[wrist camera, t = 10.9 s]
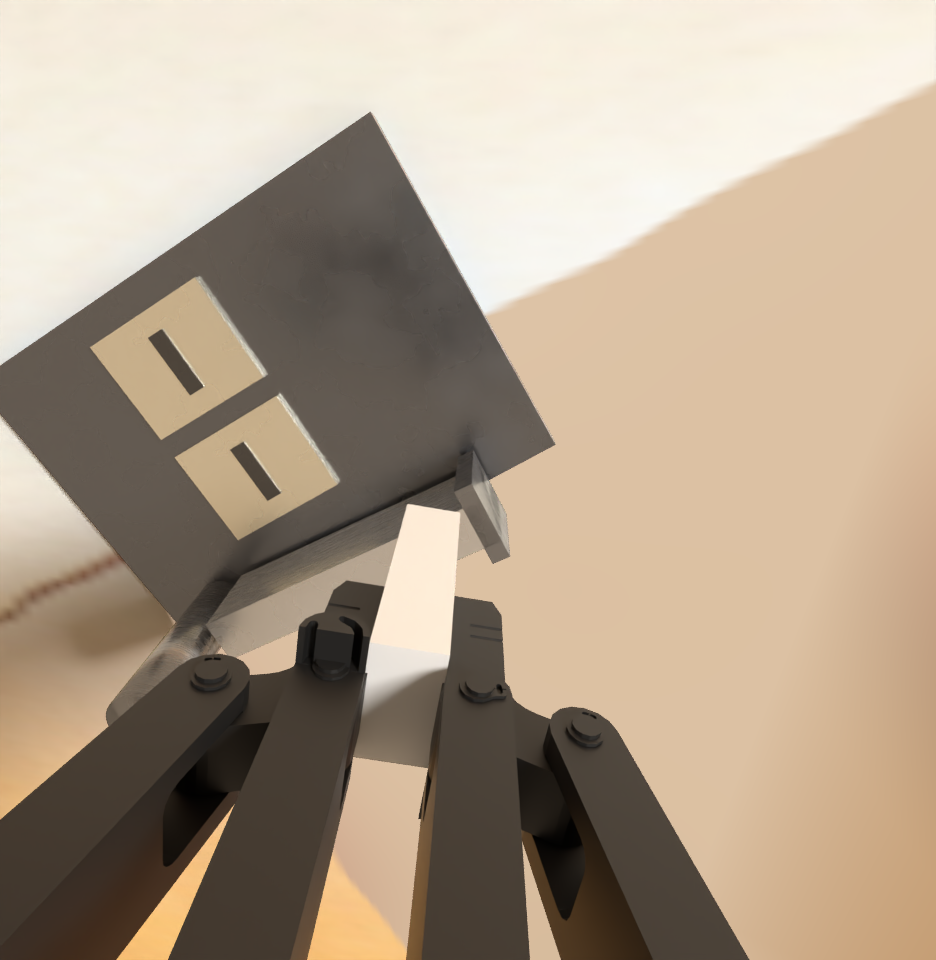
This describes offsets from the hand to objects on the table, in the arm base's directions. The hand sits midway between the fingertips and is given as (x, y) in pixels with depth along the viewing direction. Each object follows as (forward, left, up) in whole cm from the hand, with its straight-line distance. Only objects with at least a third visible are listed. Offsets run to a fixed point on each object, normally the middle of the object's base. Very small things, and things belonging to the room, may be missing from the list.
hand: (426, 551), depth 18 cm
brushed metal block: (+3, -6, -12) cm, 14 cm away
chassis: (-5, -7, -14) cm, 16 cm away
